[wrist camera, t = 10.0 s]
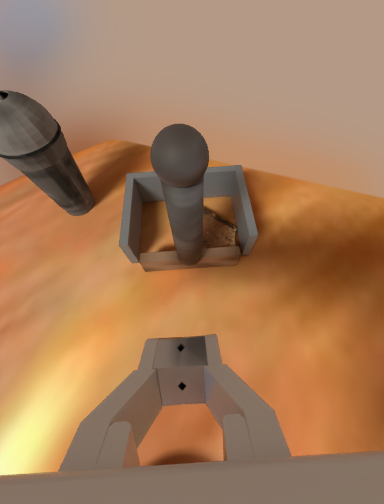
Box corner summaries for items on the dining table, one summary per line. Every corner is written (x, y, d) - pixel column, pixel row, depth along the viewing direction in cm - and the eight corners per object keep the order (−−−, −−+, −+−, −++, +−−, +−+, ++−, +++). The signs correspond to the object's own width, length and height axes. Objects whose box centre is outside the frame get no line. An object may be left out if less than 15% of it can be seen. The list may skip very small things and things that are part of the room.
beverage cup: (61, 230, 31) (-123, 60, 13) (53, 197, 34) (-104, 23, 17) (108, 212, 33) (-3, 35, 15) (97, 181, 36) (-7, 4, 18)
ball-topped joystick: (233, 248, 29) (278, 102, 12) (238, 273, 27) (296, 142, 11) (146, 255, 29) (74, 117, 12) (145, 280, 27) (60, 160, 11)
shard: (182, 201, 34) (181, 194, 32) (229, 197, 34) (230, 189, 32) (186, 263, 29) (185, 257, 27) (241, 258, 29) (244, 252, 27)
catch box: (235, 190, 34) (241, 164, 29) (249, 254, 28) (258, 235, 24) (136, 197, 34) (126, 173, 29) (131, 263, 28) (119, 245, 24)
